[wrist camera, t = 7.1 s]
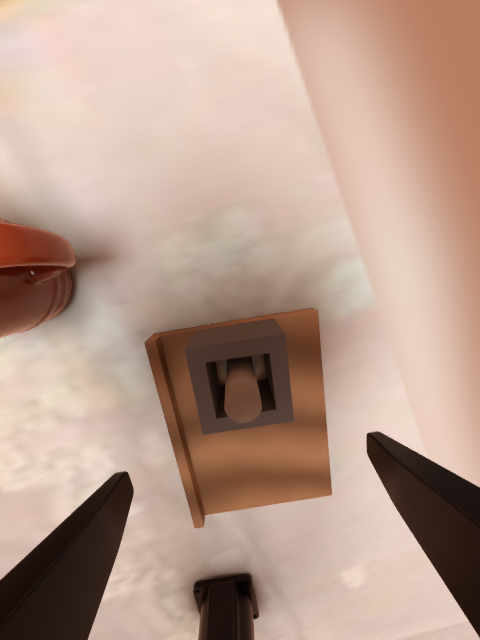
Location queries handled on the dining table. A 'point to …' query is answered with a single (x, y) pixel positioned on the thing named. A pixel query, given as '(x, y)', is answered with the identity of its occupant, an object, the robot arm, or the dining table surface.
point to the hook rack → (244, 406)
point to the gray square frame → (238, 344)
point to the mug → (32, 276)
